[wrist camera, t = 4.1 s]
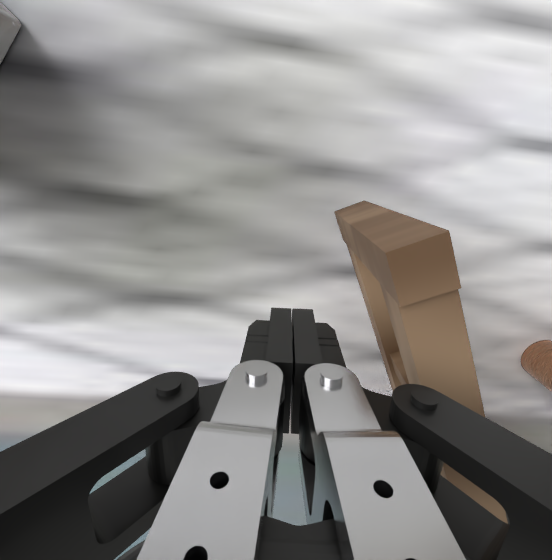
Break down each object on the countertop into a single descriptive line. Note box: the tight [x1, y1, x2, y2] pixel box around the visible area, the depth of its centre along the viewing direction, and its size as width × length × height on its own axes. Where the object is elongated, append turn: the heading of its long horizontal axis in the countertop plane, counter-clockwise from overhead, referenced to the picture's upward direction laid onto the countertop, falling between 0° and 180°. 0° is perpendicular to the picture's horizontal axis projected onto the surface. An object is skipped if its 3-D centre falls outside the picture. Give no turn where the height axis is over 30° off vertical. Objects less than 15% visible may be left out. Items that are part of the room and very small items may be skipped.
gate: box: [335, 201, 508, 524], centre depth 14 cm, size 16×2×9 cm, turn 21°
